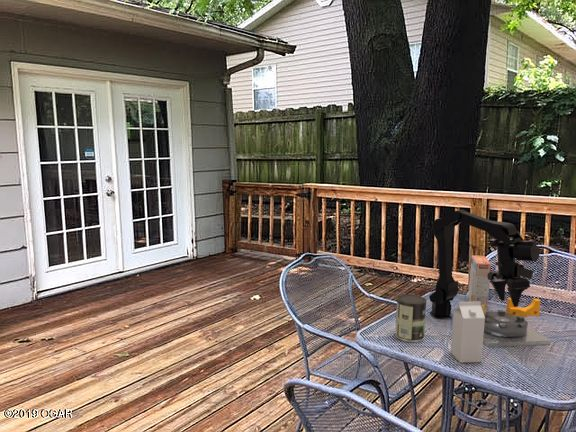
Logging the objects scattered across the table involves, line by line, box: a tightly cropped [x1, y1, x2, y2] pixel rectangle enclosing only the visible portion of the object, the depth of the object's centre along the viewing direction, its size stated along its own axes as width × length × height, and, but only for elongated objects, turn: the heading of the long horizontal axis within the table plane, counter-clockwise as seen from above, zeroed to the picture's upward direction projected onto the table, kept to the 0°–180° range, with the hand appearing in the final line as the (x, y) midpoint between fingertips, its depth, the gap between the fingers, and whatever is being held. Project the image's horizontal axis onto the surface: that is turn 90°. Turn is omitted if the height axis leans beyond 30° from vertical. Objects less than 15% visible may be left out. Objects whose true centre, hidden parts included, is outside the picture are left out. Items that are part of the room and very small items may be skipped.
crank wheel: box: [481, 303, 529, 337], centre depth 174 cm, size 17×17×9 cm
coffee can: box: [394, 293, 428, 343], centre depth 169 cm, size 10×10×14 cm
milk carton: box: [450, 301, 485, 363], centre depth 153 cm, size 7×7×19 cm
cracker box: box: [467, 254, 492, 312], centre depth 199 cm, size 14×6×21 cm, turn 167°
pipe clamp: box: [505, 297, 542, 318], centre depth 192 cm, size 12×4×6 cm, turn 85°
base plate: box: [483, 325, 551, 348], centre depth 175 cm, size 23×23×4 cm
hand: (509, 303), depth 166 cm, fingers open, 9 cm apart
